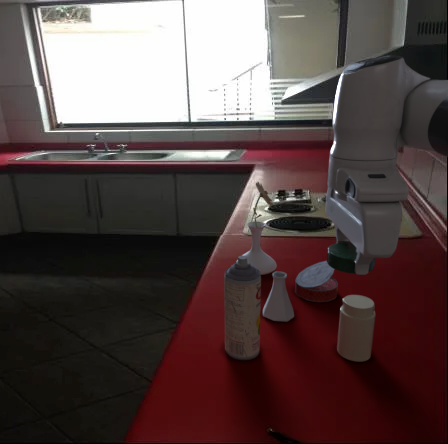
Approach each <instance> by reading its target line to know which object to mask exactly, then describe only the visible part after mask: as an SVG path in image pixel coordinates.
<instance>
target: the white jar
mask: <svg viewBox="0 0 448 444" xmlns="http://www.w3.org/2000/svg"><path fill="white" fill-rule="evenodd" d="M375 307H376V306H375V302H374V301H373V299H372V298H370V297H368V296H364V295H360V294H349V295H346V296H344V297H343V298H342V305H341V306H340V309H339V321H338V332H337V341H336V344H337V345H336V351H337V353H338V354H339V356H341V357H342V358H344V359H346V360H348V361H351V362H358V363H359V362H360V363H361V362H366V361H368V360H369V359H371V357H372V350H373V342H374V333H375V325H376V315H377V314H376V311H375Z"/></svg>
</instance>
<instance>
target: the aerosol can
mask: <svg viewBox="0 0 448 444" xmlns="http://www.w3.org/2000/svg"><path fill="white" fill-rule="evenodd" d="M237 260H238V261H237ZM237 260H236V261H237V262H236V261H235V262H234V263H233V264H231V265H230V266H229V267H227V268H226V269H225V271H224V277H223V281H224V282H223V283H224V284H223V285H224V286H223V287H224V288H223V292H224V297H223V299H224V351H225V354H226V355H228V357H230V358H232V359H234V360H237V361H251V360H253V359H255V358H257V357H258V356H259V355H260V353H261V352H260V350H261V348H260V347H261V305H262V304H261V303H262V301H261V299H262V297H261V296H262V275H260V271H259V270H258V269H256V268H255V267H254V266H253V265H251V263H249V262H248V261H247V256H242V255H238V257H237Z"/></svg>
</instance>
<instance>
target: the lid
mask: <svg viewBox="0 0 448 444" xmlns="http://www.w3.org/2000/svg"><path fill="white" fill-rule="evenodd" d="M349 242H350V241H349ZM349 242H342V243H337V242H335V243H332V244H331V245H328V247H327V253H326V261H327V263H328V265H329V266H330V267H332V268H333V269H335V270H336V271H339V272H342V273H347V274H354V275H355V274H356V273H355V271H354V270H353V260H356V257H357V254H358V253H357V252H356V249H357V248H356V247H355V246H354V245H353V243H352V242H350V243H349ZM375 265H376V258H373V260H372V261H371V263H370V264H369V272H368V273H370V272H372V271H373V270H374V269H375ZM356 275H357V274H356Z"/></svg>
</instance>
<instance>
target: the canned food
mask: <svg viewBox="0 0 448 444" xmlns="http://www.w3.org/2000/svg"><path fill="white" fill-rule="evenodd" d="M335 270H336V269H333V268H332V267H330V266H329V265H328V263H327V260H324V261H319V262H316V263H314V264H311V265H310V266H308V267H305V268H304V269H302V270H301V271H300V272H299V273H298V275H297V276H296V277H295V285H294V293H295V295H297V297H299V298H301V299H303V300H306V301H309V302H315V303H327V302H331V301H333V300H335V299H337V296H338V287H339V283H338V281H337V280H336V279H335V278H334V277H332V276H333V275H334V273H335Z"/></svg>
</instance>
